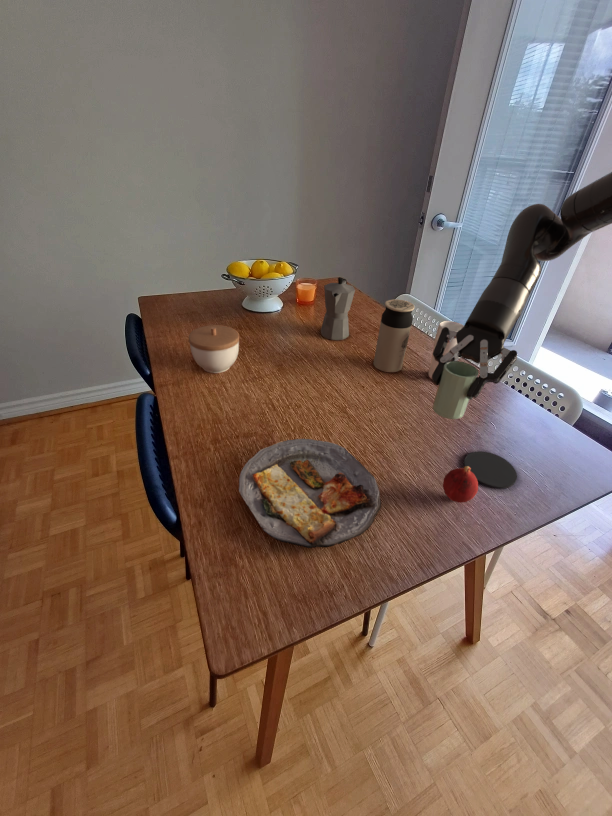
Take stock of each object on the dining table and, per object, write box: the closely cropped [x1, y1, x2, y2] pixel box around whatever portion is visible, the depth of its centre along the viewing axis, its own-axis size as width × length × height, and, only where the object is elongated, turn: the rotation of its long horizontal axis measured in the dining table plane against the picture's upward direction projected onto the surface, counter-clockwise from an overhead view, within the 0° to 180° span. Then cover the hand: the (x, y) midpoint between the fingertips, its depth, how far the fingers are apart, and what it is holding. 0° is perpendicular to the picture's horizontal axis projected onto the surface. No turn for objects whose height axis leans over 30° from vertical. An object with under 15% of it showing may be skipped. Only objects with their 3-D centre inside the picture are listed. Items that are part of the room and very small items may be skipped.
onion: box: [442, 466, 479, 503], centre depth 70 cm, size 6×6×8 cm
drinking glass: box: [427, 320, 465, 381], centre depth 104 cm, size 7×7×15 cm
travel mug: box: [373, 298, 416, 373], centre depth 106 cm, size 8×8×18 cm
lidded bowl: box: [188, 324, 240, 374], centre depth 103 cm, size 13×13×11 cm
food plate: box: [238, 438, 382, 549], centre depth 71 cm, size 25×23×4 cm
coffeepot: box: [320, 276, 356, 341], centre depth 122 cm, size 15×9×18 cm, turn 164°
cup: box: [432, 360, 480, 420], centre depth 73 cm, size 6×6×9 cm
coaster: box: [463, 450, 518, 490], centre depth 79 cm, size 10×10×1 cm
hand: (451, 390), depth 71 cm, fingers closed on cup, 6 cm apart
